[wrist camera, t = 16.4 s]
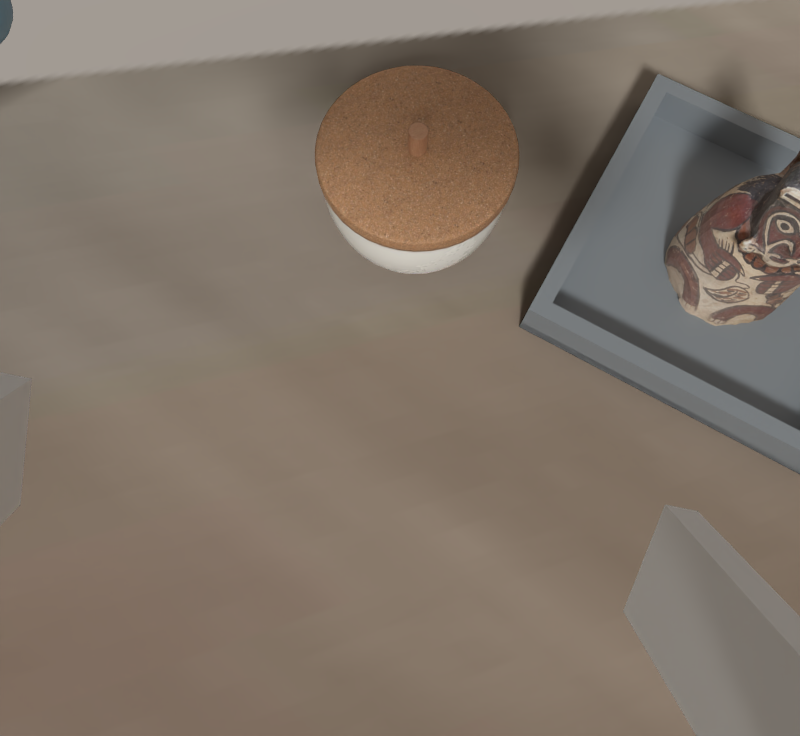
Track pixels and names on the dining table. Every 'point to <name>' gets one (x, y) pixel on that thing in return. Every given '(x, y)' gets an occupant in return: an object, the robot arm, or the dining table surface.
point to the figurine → (740, 251)
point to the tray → (649, 283)
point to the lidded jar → (416, 167)
